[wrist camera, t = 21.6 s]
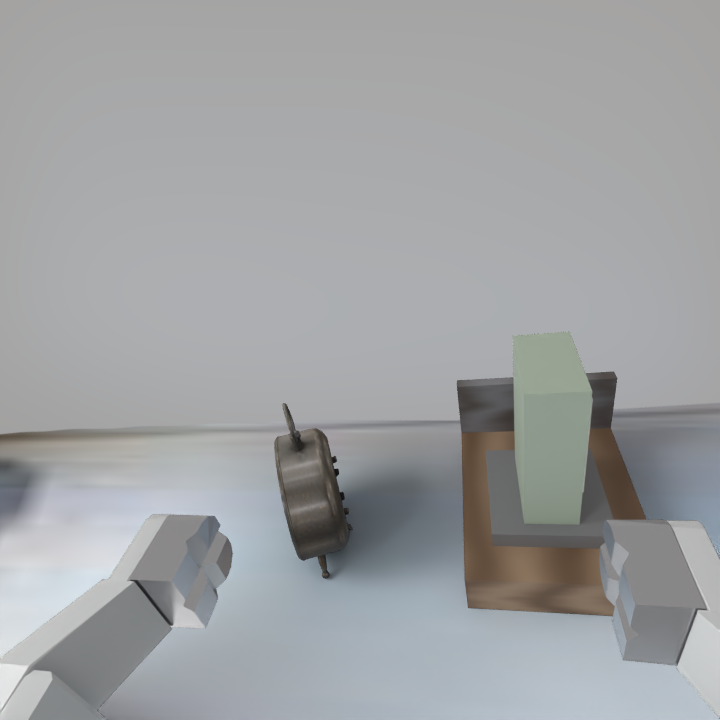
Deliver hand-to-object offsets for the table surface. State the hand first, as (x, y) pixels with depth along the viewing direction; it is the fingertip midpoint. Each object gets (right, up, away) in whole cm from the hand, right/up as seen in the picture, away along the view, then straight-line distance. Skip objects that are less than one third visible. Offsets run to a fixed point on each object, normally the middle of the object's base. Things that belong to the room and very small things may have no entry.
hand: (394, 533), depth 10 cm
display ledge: (+16, -11, +33) cm, 38 cm away
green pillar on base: (+15, -8, +30) cm, 35 cm away
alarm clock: (-4, -14, +36) cm, 39 cm away
